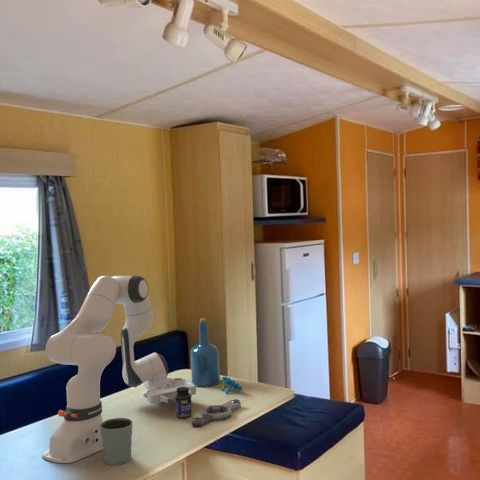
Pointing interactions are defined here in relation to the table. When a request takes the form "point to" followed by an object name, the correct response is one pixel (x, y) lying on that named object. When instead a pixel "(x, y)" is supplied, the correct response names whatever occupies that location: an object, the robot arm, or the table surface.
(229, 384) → the blue jointed connector toy
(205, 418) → the octagon ring handle
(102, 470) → the table surface
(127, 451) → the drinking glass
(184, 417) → the pill bottle
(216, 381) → the wine bottle
